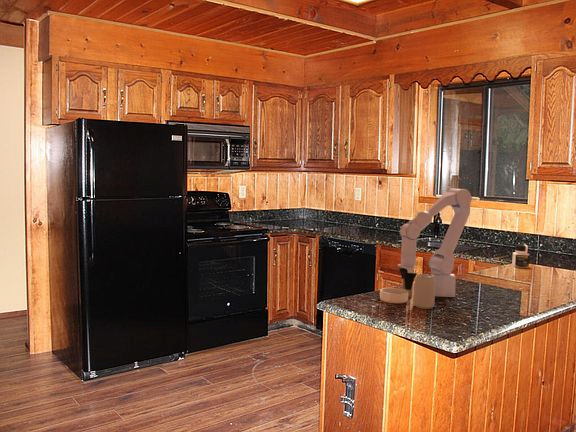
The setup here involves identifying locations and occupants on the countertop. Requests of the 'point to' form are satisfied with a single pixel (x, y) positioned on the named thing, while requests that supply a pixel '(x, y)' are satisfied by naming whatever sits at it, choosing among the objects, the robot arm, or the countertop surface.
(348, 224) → the countertop surface
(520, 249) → the medicine bottle
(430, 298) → the can
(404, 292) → the beige shallow bowl
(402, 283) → the beige rectangular block
